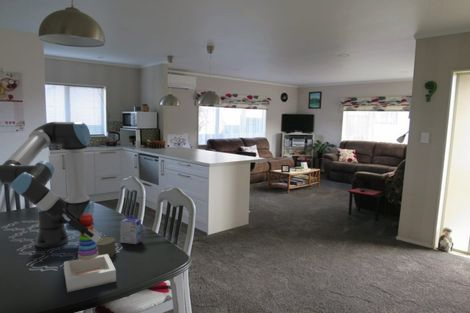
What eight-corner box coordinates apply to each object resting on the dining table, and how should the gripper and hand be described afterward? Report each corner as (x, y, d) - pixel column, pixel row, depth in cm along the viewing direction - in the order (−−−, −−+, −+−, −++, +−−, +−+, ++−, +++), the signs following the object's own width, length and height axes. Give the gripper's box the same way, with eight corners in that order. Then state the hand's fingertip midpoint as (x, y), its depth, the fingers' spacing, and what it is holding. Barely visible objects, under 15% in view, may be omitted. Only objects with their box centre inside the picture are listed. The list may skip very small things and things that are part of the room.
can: (103, 260, 155) (103, 246, 155) (84, 256, 160) (83, 242, 159) (120, 251, 167) (120, 238, 166) (101, 247, 171) (101, 234, 170)
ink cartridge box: (141, 240, 181) (141, 215, 179) (136, 244, 175) (136, 218, 174) (125, 239, 183) (125, 213, 181) (120, 242, 177) (119, 216, 176)
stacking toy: (82, 253, 141) (80, 210, 139) (101, 253, 142) (100, 210, 140) (74, 261, 133) (73, 216, 131) (94, 260, 134) (93, 216, 132)
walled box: (64, 273, 142) (63, 261, 141) (108, 264, 151) (107, 253, 151) (67, 292, 127) (67, 279, 126) (116, 281, 136) (115, 269, 135)
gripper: (43, 205, 135) (87, 237, 145) (44, 217, 119) (94, 252, 129) (57, 191, 137) (100, 224, 147) (60, 202, 121) (107, 237, 131)
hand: (97, 237), depth 138 cm, fingers closed on stacking toy, 6 cm apart
